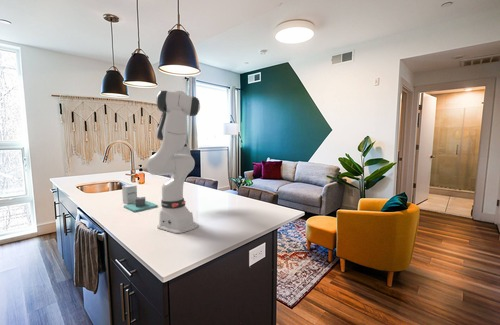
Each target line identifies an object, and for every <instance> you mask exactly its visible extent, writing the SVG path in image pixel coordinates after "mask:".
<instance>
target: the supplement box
mask: <svg viewBox="0 0 500 325" xmlns="http://www.w3.org/2000/svg"><path fill="white" fill-rule="evenodd" d="M121 188H122V190H121V191H122V203H123V204H124V205H129V204H134V203H136V198H137V197H138V186H137V185H135V184H125V185H122V186H121Z"/></svg>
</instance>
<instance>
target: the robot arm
mask: <svg viewBox="0 0 500 325" xmlns="http://www.w3.org/2000/svg"><path fill="white" fill-rule="evenodd" d="M155 99H156V100H155V103H156V106H157V109H158V110H159V111H160V112H161V116H160V119H159V122H158V125H157V128H156V129H155V130H156V131H155V136H156V138H157V139H158V140H160V141H162V142H161V144H160V147H159V148H158V150H157V151H156V152H155V153H154V154H153V155H151V156H150V157H148V159H147V160H146V164H145V165H146V166H145V167H146V170H147V172H148V173H149V174H150V175H153V176H167V175H168V176H169V175H171V176H170V178H169V180H166V181H165V182H164V183H162V186H161V200H160V201H161V202H160V203H161V204H160V205H161V209H160V211H159V218H158V220H159V221H158V222H159V224H158V225H157V226H156V227H157V229H158V230H159V229H160V230H162V231H166V232H169V233H173V234H182V233H186V232H189V231H192V230H194V229H196V228H198V226H199V224H198V223H197V222H196V221H194V217H193V216H194V215H193V212H192V211H191V212H190V210H189V208H188V207H187V206H186V202H187V201H185V199H184V184H185V180H186V178H187V176H188V175H189V174H190V173H191V172H192V171H193V170H194V168H195V164H196V162H195V159H194V157H193V156H192V154H191V149H190V145H189V143H186V138H187V128H188V120H187V119H188V117H187V116H189V117H195V116H197V115H198V113H200V109H201V103H200V99H199V98H198V97H196V96H193V95H192V96H191V95H188V94H187V93H186V92H184V91H183V90H175V91H170V90H169V91H168V90H160V91H159V92H158V93H157V96H156V98H155Z"/></svg>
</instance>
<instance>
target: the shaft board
mask: <svg viewBox="0 0 500 325" xmlns="http://www.w3.org/2000/svg"><path fill="white" fill-rule="evenodd" d="M145 201H146V204H145V206H140V207H136V202H135V203H130V204H124V205H123V208H124V209H127V210H128V211H131V212H132V213H136V212H141V211H145V210H149V209H154V208H157V207H159V205H158V204H156V203H154V202H151V201H148V200H145Z"/></svg>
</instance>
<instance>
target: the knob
mask: <svg viewBox="0 0 500 325" xmlns="http://www.w3.org/2000/svg"><path fill="white" fill-rule="evenodd" d="M146 201H147V200H146V196H139V197H138V196H137V198H136V202H135V203H136V207H140V206H145V204H146Z"/></svg>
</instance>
